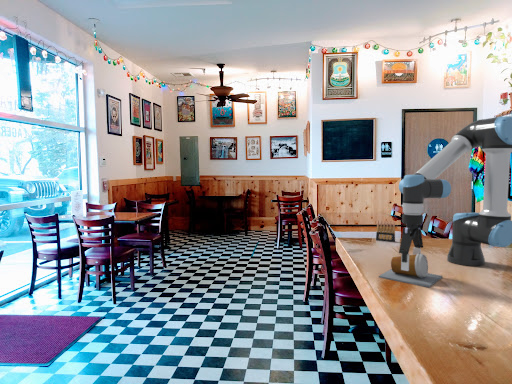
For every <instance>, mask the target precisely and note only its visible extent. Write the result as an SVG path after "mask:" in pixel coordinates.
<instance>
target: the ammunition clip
mask: <svg viewBox="0 0 512 384" xmlns="http://www.w3.org/2000/svg"><path fill="white" fill-rule="evenodd" d="M375 234H376V235H375V236H376V237H375V241H379V242H388V243H396V224H395V221H393V222H392V221H390V222H389V221H385V220H384V221H382V220H380V222H379V220H377V224H376V233H375Z"/></svg>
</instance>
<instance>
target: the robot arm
mask: <svg viewBox="0 0 512 384" xmlns="http://www.w3.org/2000/svg"><path fill="white" fill-rule="evenodd" d="M480 147H481V151H483V152H484V153H485V164H484V166H485V167H484V168H485V169H484V183H483V184H484V187H483V188H484V189H483V205H482V210H481V211H479V212H456V213H454V215H453V217H452V230H451V231H452V234H451V235H452V236H451V237H452V239H451V246H450V248H449V250H448V253H447V257H446V259H447V262H449V263H453V264H456V265H462V266H470V267H481V266H484V265H485V264H486V263H485V262H486V260H485V255H484V252H483V250H482V244H483V245H487V246H491V247H494V248H495V247H497V248H506V247H508V246H510V245H512V214H511V213H509V211H508V200H509V199H508V198H509V185H510V184H509V182H510V181H509V180H510V167H511V166H510V165H511V164H510V162H511V153H512V116H509V115H508V116H504V115H503V116H496V117H490V118H484V119H483V118H482V119H477V120H475V121H472V122H470V123H469V124H467V125H466V126H464V127H463V128H461V130H459V131H458V132H456V134H454V135H453V136H452V137H451V140H450V142H449V143H448V144H447V145H446V146H444V147H443V148H442V149H441V150H440V151H439V152H437V153H436V154H435V155H434V156H433V157H432V158H431V159H430V160H428V161H427V162H426V163H425V164H424V165H423V166H422V167H421V168H420V169H419V170H417V171H416V172H415V173H414V174H406V175H404V176H403V178H402V179H401V180H400V181H399V184H398V190H399V192H400V193H401V194H402V204H401V207H402V215H401V217H402V219H401V222H402V223H403V224H404V225H406V227H403V228H402V234H401V240H400V245H399V250H398V253H399V254H401V255H400V256H401V270H405V271H409V255H410V253H409V252H410V249H411V246H412V242H413V249H412V250H413V251H412V252H413V253H412V255H417V254H419V253H421V254H422V252H421V251H422V249H423V248H424V244H423V243H424V242H423V235H422V225H423V222H424V221H423V220H424V215H423V214H424V199H445V198H446V199H447V197H449V196H450V195H451V192H452V185H451V183H450V181H448V180H447V179H441V178H438V177H439V176H441V174H443V173H444V172H445V171H446V170H448V168H450V166H452V165H453V164H454V163H455V162H456V161H457V160H459V158H461V156H464V154H468V153H470V152H471V151H472V150H474V149H475V148H480ZM437 178H438V179H437Z"/></svg>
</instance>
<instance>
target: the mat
mask: <svg viewBox="0 0 512 384" xmlns="http://www.w3.org/2000/svg"><path fill="white" fill-rule="evenodd" d="M378 278H381V279H386V280H391V281H396V282H400V283H404V284H410V285H415V286H419V287H424V288H431V287H432V286H433V285H434V284H436V283H437V282H438V281H439V280H441V279H442V278H443V275H442V274H441V275H440V274H436V273H435V274H434V273H429V272H428V273H427V276H426V277H423V278H420V277H418V276H412V275H406V274H400V273H394V272H393V271H392V268H391V269H388V270H387V271H385V272H383V273H382V274H380V275H378Z"/></svg>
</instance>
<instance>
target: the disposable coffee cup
mask: <svg viewBox="0 0 512 384" xmlns="http://www.w3.org/2000/svg"><path fill="white" fill-rule="evenodd" d="M390 268H391V269H392V271H393V272H394V273H400V274H406V275H412V276H418V277H420V278H423V277H426V276H427V273H429V263H428V258H427V256H426V255H425V254H423V253H422V252H421V253H419V254H417V255H413V254H409V271H405V270H401V255H399V256H398V255H397V256H393V257H392V258H391V261H390Z"/></svg>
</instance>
